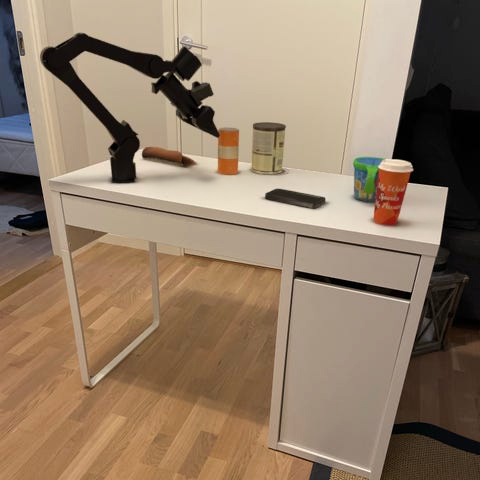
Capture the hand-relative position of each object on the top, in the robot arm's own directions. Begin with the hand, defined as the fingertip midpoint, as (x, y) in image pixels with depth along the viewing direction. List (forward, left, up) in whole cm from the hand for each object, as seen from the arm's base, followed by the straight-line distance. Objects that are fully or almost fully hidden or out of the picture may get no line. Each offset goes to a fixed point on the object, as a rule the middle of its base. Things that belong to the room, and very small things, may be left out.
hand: (212, 133), depth 147 cm
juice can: (+5, +1, -12) cm, 13 cm away
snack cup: (+40, -29, -12) cm, 51 cm away
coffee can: (+18, +3, -12) cm, 22 cm away
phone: (+19, -30, -12) cm, 37 cm away
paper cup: (+37, -48, -12) cm, 61 cm away
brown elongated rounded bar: (-13, +16, -12) cm, 24 cm away
